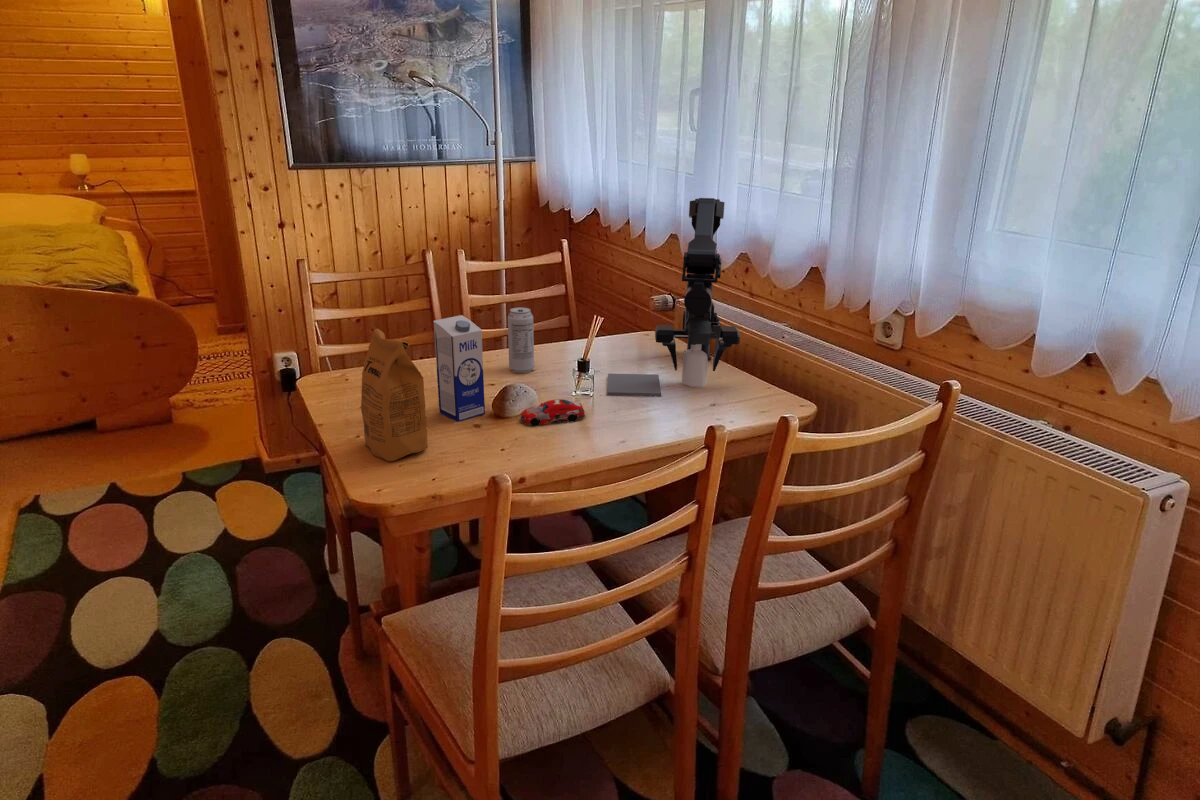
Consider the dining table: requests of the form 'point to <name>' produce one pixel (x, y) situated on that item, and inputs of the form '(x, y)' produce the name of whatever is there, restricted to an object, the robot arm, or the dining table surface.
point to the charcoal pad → (633, 385)
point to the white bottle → (694, 367)
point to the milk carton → (459, 368)
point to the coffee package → (392, 400)
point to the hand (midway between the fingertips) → (694, 370)
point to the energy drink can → (521, 340)
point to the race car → (553, 412)
